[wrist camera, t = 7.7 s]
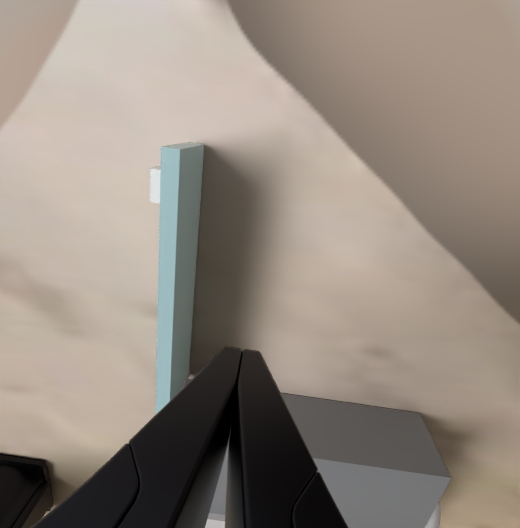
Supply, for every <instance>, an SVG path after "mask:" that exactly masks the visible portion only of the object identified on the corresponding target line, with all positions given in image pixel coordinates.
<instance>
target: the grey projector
mask: <svg viewBox="0 0 520 528" xmlns="http://www.w3.org/2000/svg"><path fill="white" fill-rule="evenodd" d="M190 381H191V380H187V383H186V385H187V384H188V383H189V382H190ZM281 395H282V397H283V399H284V401H285V403H286V405H287V407H288V409H289V411H290V413H291V415H292V417H293V419H294V421H295V423H296V425H297V427H298V429H299V431H300V433H301V435H302V437H303V439H304V441H305V443H306V446H307V448H308V450H309V452H310V454H311V456H312V458H313V460H314V462H315V464H316V466H317V468H318V472H320V473H321V475H322V477H323V480H324V482H325V484H326V486H327V488H328V490H329V492H330V494H331V496H332V497H333V499H334V501H335V503H336V505H337V507H338V509H339V511H340V513H341V514H342V516H343V518H344V520H345V522H346V524H347V525H348V527H349V528H438V527H439V523H440V501H439V500H440V498H441V497H442V495H443V493H444V491H445V489H446V487H447V485H448V484H449V482H450V480H451V476H450V474H449V472H448V470H447V468H446V466H445V464H444V462H443V460H442V458H441V456H440V454H439V452H438V449H437V447H436V445H435V443H434V441H433V439H432V437H431V435H430V433H429V431H428V429H427V427H426V425H425V423H424V421H423V419H422V417H421V415H420V413H416V412H409V411H402V410H396V409H389V408H382V407H375V406H368V405H361V404H354V403H347V402H340V401H333V400H326V399H319V398H313V397H306V396H299V395H292V394H285V393H281ZM230 431H231V430H230ZM229 438H230V436H229ZM228 446H229V442H228ZM227 461H228V447H227V451H226V455H225V459H224V462H223V466H222V469H221V473H220V476H219V480H218V483H217V487H216V490H215V494H214V498H213V501H212V505H211V508H210V512H209V515H208V519H207V522H206V526H205V528H225V511H226V486H227Z"/></svg>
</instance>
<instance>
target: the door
mask: <svg viewBox="0 0 520 528" xmlns="http://www.w3.org/2000/svg"><path fill="white" fill-rule="evenodd" d="M203 157H204V144H200V143H193V142H187V143H181V144H174V145H168V146H162V147H161V167H160V166H156V167H153V168H150V202H154V203H160V224H159V274H158V325H157V375H156V414H157V413H158V412H159V411H160V410H161V409H162V408H163V407H164V406H165V405H166V404H167V403H168V402H169V401H170V400H171V399H173V398H174V397H175V396H176V395H177V394H178V393H179V392H180V391H181V390H182V389H183V388H184V387H185V386H186V383H187V380H188V377H189V375H190V370H189V363H190V348H191V333H192V319H193V304H194V289H195V275H196V260H197V245H198V230H199V216H200V201H201V186H202V172H203Z"/></svg>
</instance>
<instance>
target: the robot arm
mask: <svg viewBox="0 0 520 528" xmlns="http://www.w3.org/2000/svg"><path fill="white" fill-rule="evenodd" d="M230 430H231V431H230ZM229 436H230V438H229ZM228 442H229V446H228ZM227 447H228V461H227V486H226V511H225V528H349V527H348V525H347V524H346V522H345V520H344V518H343V516H342V514H341V513H340V511H339V509H338V507H337V505H336V503H335V501H334V499H333V497H332V496H331V494H330V492H329V490H328V488H327V486H326V484H325V482H324V480H323V477H322V475H321V473H320V472H318V468H317V466H316V464H315V462H314V460H313V458H312V456H311V454H310V452H309V450H308V448H307V446H306V443H305V441H304V439H303V437H302V435H301V433H300V431H299V429H298V427H297V425H296V423H295V421H294V419H293V417H292V415H291V413H290V411H289V409H288V407H287V405H286V403H285V401H284V399H283V397H282V395H281V393H280V391H279V389H278V387H277V385H276V383H275V381H274V379H273V377H272V375H271V373H270V371H269V369H268V367H267V365H266V363H265V361H264V359H263V357H262V355H261V353H260V352H259V351H255V350H248V349H245V350H243V352H242V349H240V348H234V347H225V348H224V349H223V350H222V351H221V352H220V353H219V354H218V355H216V356H215V357H214V358H213V359H212V360H211V361H210V362H209V363H208V364H207V365H206V366H205V367H204V368H203V369H202V370H201V371H200V372H199V373H198V374H197V375H196V376H195V377H194V378H193V379H192V380H191V381H190V382H189V383H188V384H187V385H186V386H185V387H184V388H183V389H182V390H181V391H180V392H179V393H178V394H177V395H176V396H175V397H174V398H173V399H171V400H170V401H169V402H168V403H167V404H166V405H165V406H164V407H163V408H162V409H161V410H160V411H159V412H158V413H157V414H156V415H155V416H154V417H153V418H152V419H151V420H150V421H149V422H148V423H147V424H146V425H145V426H144V427H143V428H142V429H141V430H140V431H139V432H138V433H137V434H136V435H135V436H134V437H133V438H132V439H131V440H130V441H129V444H125V445H124V446H123V447H122V448H121V449H120V450H119V451H118V452H117V453H116V454H115V455H114V456H113V457H112V458H111V459H110V460H109V461H108V462H107V463H106V464H105V465H103V466H102V467H101V468H100V469H99V470H98V471H97V472H96V473H95V474H94V475H93V476H92V477H91V478H89V479H88V480H87V481H86V482H85V483H84V484H83V485H82V486H80V487H79V488H78V489H77V490H76V491H74V492H73V493H72V494H71V495H70V496H69V497H67V498H66V499H65V500H64V501H63V502H61V503H60V504H59V505H58V506H57V507H55V508H54V509H53V510H52V511H51V512H49V513H48V514H47V515H46V516H45V517H43V516H44V514H45V513H46V511H50V510H51V508H52V507H53V499H52V493H51V487H50V482H49V476H48V470H47V465H46V463H45V462H43V461H39V460H33V459H26V458H19V457H12V456H5V455H0V528H205V526H206V522H207V519H208V515H209V512H210V508H211V505H212V501H213V498H214V494H215V490H216V487H217V483H218V480H219V476H220V473H221V469H222V466H223V462H224V459H225V455H226V451H227Z"/></svg>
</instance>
